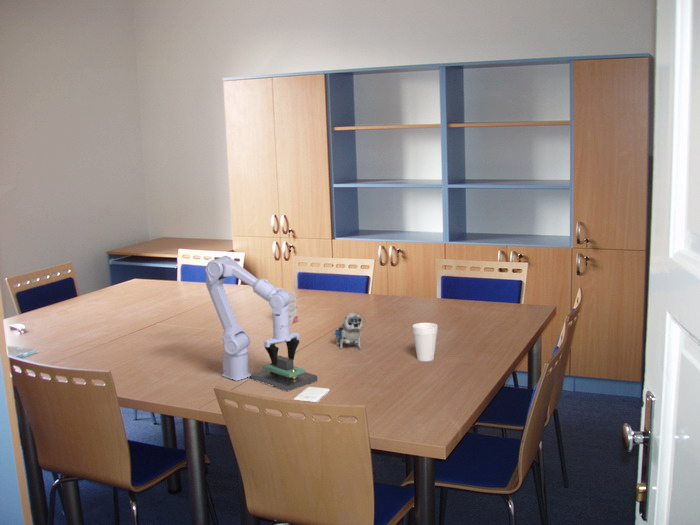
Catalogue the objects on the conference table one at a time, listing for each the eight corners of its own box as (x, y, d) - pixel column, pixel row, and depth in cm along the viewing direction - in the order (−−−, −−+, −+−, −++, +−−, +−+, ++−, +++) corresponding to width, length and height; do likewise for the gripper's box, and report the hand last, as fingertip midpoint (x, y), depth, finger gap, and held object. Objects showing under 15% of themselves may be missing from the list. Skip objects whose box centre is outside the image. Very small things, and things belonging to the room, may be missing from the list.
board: (262, 368, 267) (261, 356, 266) (277, 364, 271) (277, 352, 271) (289, 377, 256) (288, 365, 255) (304, 372, 261) (304, 360, 260)
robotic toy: (340, 353, 293) (339, 317, 291) (332, 342, 310) (331, 307, 307) (372, 350, 296) (370, 314, 293) (362, 339, 313) (361, 304, 310)
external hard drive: (329, 393, 251) (315, 406, 240) (307, 390, 254) (292, 403, 243) (329, 388, 251) (314, 401, 240) (307, 386, 254) (291, 398, 242)
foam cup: (410, 361, 281) (409, 328, 278) (417, 354, 289) (416, 321, 287) (434, 363, 277) (433, 329, 275) (440, 356, 286) (440, 323, 283)
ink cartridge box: (289, 320, 349) (288, 289, 346) (298, 321, 346) (296, 290, 343) (278, 324, 342) (276, 293, 339) (286, 326, 339) (285, 294, 336)
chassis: (251, 379, 266) (250, 365, 266) (281, 369, 276) (280, 356, 275) (286, 391, 252) (286, 377, 252) (317, 381, 262) (316, 367, 261)
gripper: (272, 331, 253) (274, 369, 255) (304, 322, 263) (305, 359, 265) (259, 327, 258) (261, 365, 260) (291, 319, 268) (293, 355, 270)
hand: (283, 362), depth 263 cm, fingers open, 7 cm apart
